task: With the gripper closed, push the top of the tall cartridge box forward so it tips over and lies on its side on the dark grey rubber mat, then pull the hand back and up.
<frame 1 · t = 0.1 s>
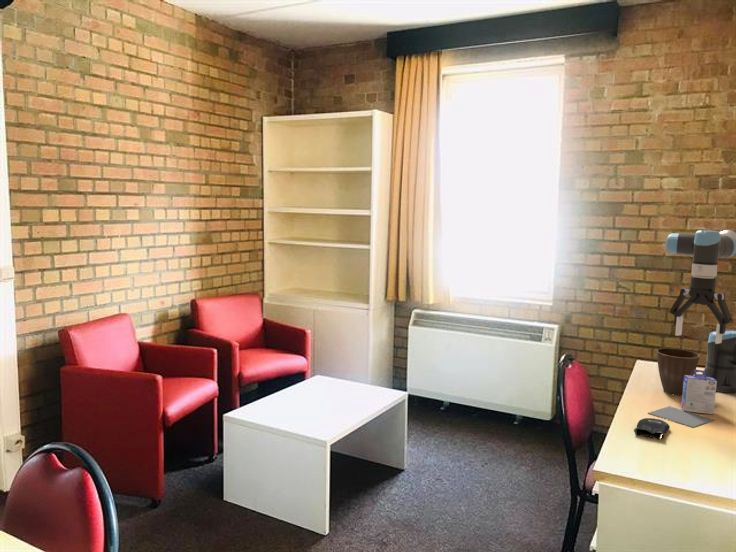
hand: (697, 339, 216), 28 cm above the table, tool pointing down, fingers open, 13 cm apart
electronic device: (652, 432, 206), on the table
plant pot: (674, 393, 249), on the table
ink cartridge box: (696, 411, 227), on the table, touching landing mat
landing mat: (680, 416, 221), on the table
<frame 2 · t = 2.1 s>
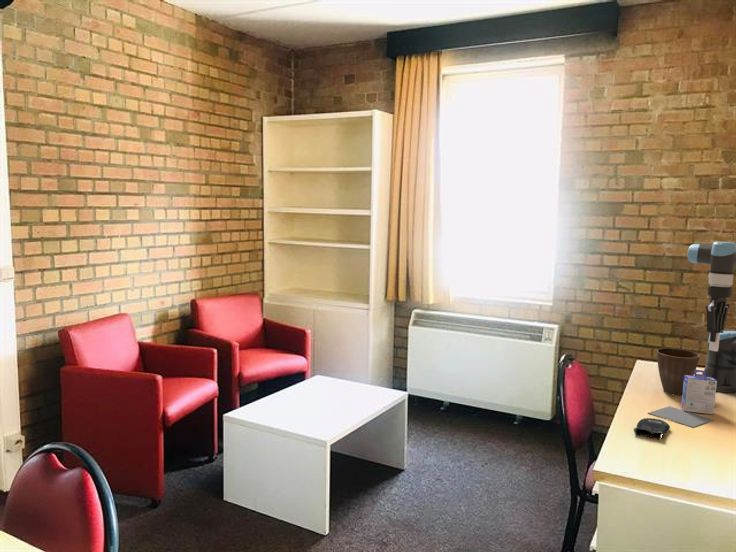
hand: (713, 350, 229), 21 cm above the table, tool pointing down, fingers closed
nothing on the table moved.
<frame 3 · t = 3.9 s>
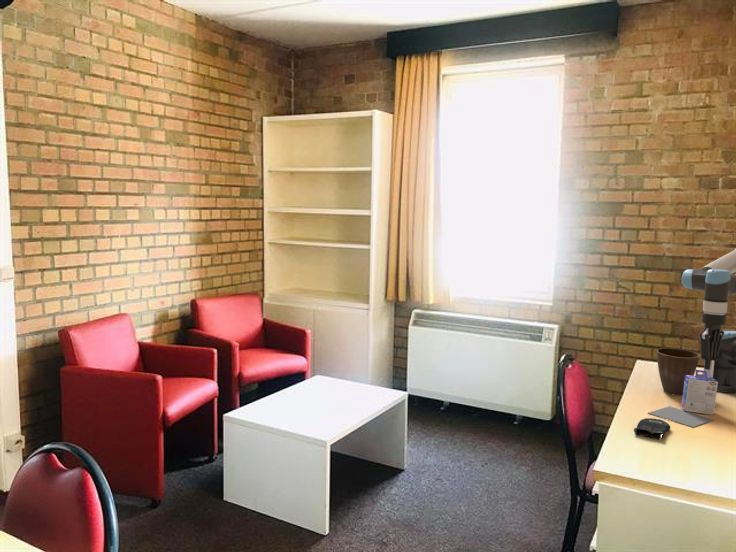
hand: (707, 377, 229), 12 cm above the table, tool pointing down, fingers closed
ink cartridge box: (696, 411, 227), on the table, touching gripper, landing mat
everything else where it was.
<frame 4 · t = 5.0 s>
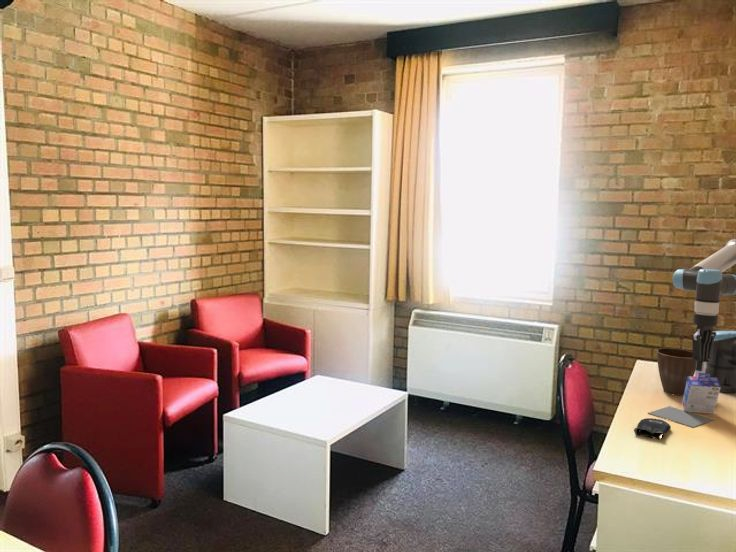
hand: (699, 379, 225), 12 cm above the table, tool pointing down, fingers closed
ink cartridge box: (697, 407, 227), point 1 cm above the table, touching gripper, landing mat
everything else where it was.
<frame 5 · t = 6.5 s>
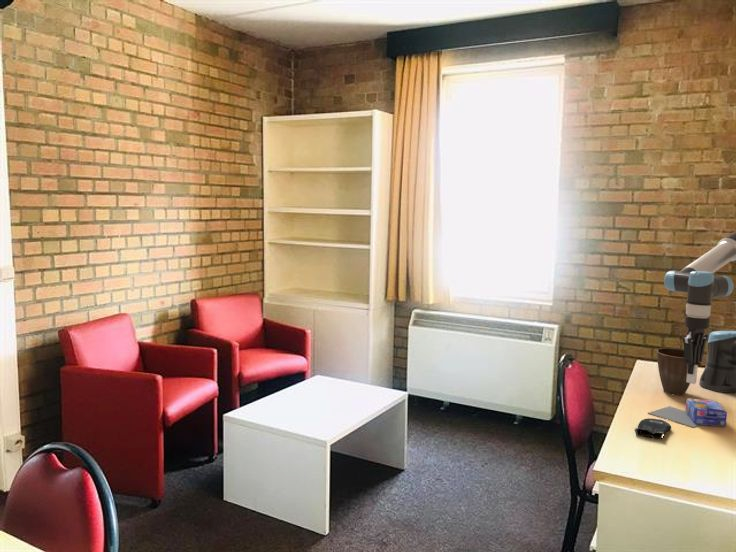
hand: (691, 382, 222), 11 cm above the table, tool pointing down, fingers closed
ink cartridge box: (700, 406, 224), point 3 cm above the table, touching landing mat
everything else where it was.
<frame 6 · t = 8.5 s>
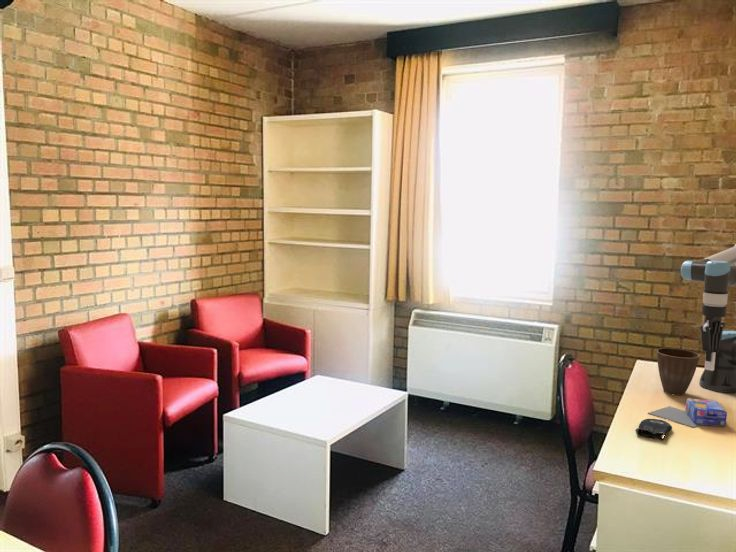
hand: (709, 369, 228), 15 cm above the table, tool pointing down, fingers closed
nothing on the table moved.
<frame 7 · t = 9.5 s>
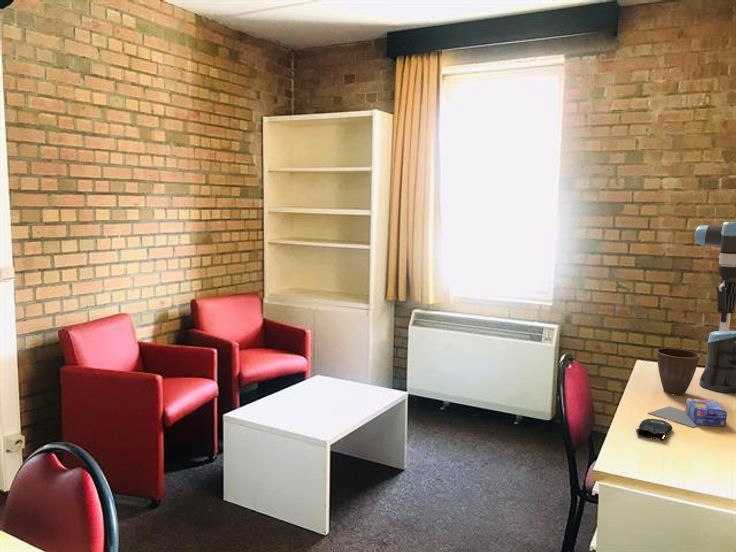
hand: (724, 330, 229), 28 cm above the table, tool pointing down, fingers closed
nothing on the table moved.
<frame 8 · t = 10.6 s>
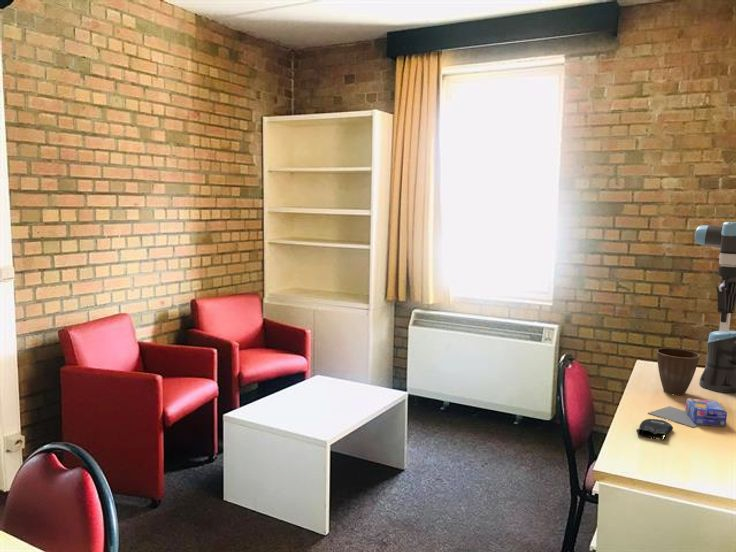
hand: (724, 330, 229), 28 cm above the table, tool pointing down, fingers closed
nothing on the table moved.
at the end: ink cartridge box tilted 92°; ink cartridge box inside the target area (4.2 cm from its centre), point 3.1 cm above the table; ink cartridge box touching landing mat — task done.
